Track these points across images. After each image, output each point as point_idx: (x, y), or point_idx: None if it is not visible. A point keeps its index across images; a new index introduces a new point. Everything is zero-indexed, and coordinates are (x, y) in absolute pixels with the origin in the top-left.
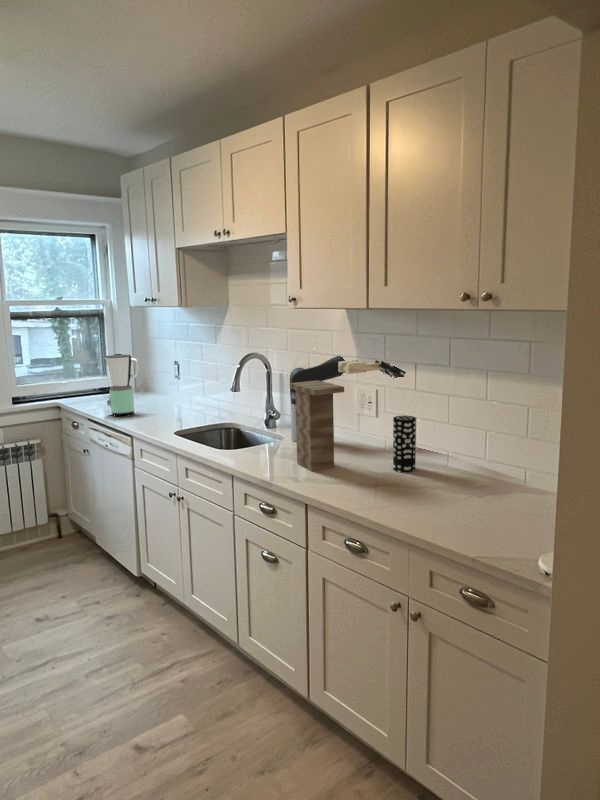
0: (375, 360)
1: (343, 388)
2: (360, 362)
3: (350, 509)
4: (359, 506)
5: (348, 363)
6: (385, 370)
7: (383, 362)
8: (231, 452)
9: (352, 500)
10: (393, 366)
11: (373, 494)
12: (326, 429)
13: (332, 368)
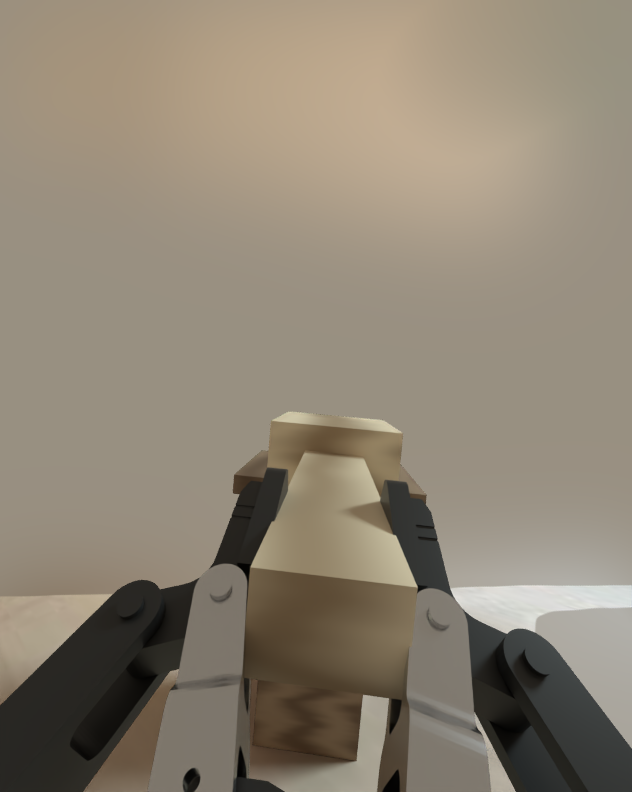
0: (400, 481)
1: (234, 479)
2: (279, 417)
3: (49, 597)
4: (33, 613)
5: (295, 412)
6: (387, 741)
7: (262, 487)
8: (508, 625)
9: (61, 622)
10: (129, 588)
11: (15, 672)
12: None
13: None
